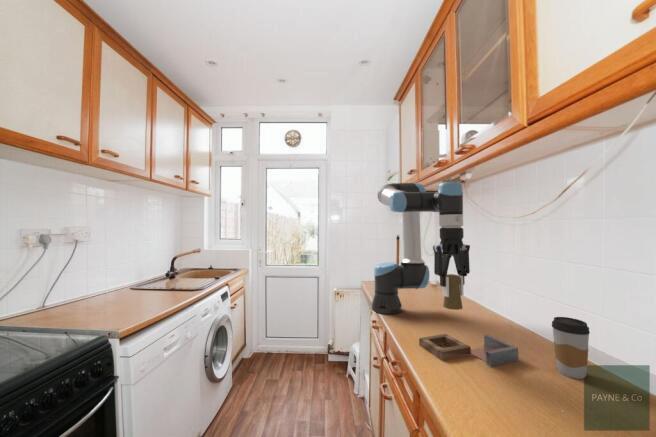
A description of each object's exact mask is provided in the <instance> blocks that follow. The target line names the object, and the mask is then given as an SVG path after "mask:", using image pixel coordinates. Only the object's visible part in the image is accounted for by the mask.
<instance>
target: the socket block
mask: <svg viewBox="0 0 656 437" xmlns="http://www.w3.org/2000/svg"><path fill="white" fill-rule="evenodd" d="M418 342H419V347H422V349H424V350H426V352H429V353H430V354H431V355H433V356H435V357H436V358H437V359H439V360H441V361H446V360H452V359H456V358H457V359H458V358H461V357H466V356H472V354H471V348H472V347H471V346H470V345H468V344H466V343H464V342H462V341H460V340H458V339H457V338H454V337H453V336H451V335H449V334H447V333H442V334H436V335H430V336H423V337H419V339H418ZM441 345H447V346H448V347H444V348H442V347H440V346H441Z"/></svg>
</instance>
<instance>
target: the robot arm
mask: <svg viewBox="0 0 656 437" xmlns="http://www.w3.org/2000/svg"><path fill="white" fill-rule="evenodd" d="M463 194H464V192H463V185H462V183H461V182H459V181H446V182H441V183H439V185H438V190H437V191H426V188H425V186H424V185H423V184H422V183H419V182H418V183H417V182H398V183H396V182H395V183H394V182H393V183H388V184H385V185H383V186H382V187H380V188H379V190H378V192H377V199H378V201H379V202H380V203H381V204H383V205H385V206H389V208H390V211H391V212H393V213H402V235H403V236H402V241H403V242H402V244H403V259H402V260H400V265H399V264H398V263H397V262H390V261H388V262H384V263H378V264H376V265H375V266H374V273H373V277H374V295H373V298H372V302H371V308H370V309H371V311H373V312H374V313H378V314H383V315H394V314H400V313H402V311H403V306H402V302H401V300H400V297H399V290H401V289H402V290H405V289H406V290H407V289H409V290H412V289H415V290H418V289H419V290H420V289H425V288H426V287H427V286H428V284H429V280H430V269H429V266H428V265H426V264H425V263H426V262H425V261H424V260H423V259H422V242H421V241H422V240H421V237H422V236H421V216H420V214H421V212H422V213H423V212H426V213H427V212H429V213H430V212H431V213H432V212H433V213H438V215H439V217H438V219H439V220H438V222H439V223H438V224H439V225H438V226H439V227H440V228H439V239H440V242H439V244H437V245H433V246H432V250H433V252H434V253H433V254H434V255H433V256H434V258H433V259H434V266H433V267H434V271H433V272H434V275H436V276H438V277H439V286H440V287H441V296H443V297H444V296H446V297H449V277H446V276H447V275H448V270H449V265H450V261H451V258H452V257H453V260H454V264H455V269H456V273H457V275H458V276H459V277H460V279H461V282H460V284H459V289H460V295H461V296H464V293H465V292H464V285H465V281H466V280H465V277H467V276H468V274H470V272H471V269H470V249H471V248H470V247H471V245H469V244H465V243H464V241H463V239H464V234H465V233H464V228H463V226H464V202H463V200H464V199H463V198H464V195H463Z"/></svg>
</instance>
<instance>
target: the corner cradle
mask: <svg viewBox="0 0 656 437" xmlns="http://www.w3.org/2000/svg"><path fill="white" fill-rule="evenodd" d="M483 345H484V346H482V347H477V348H473V349H471V356H474V357H476V358H477V359H479V360H481V361H482V362H485V364H486V365H487V366H488V367H490V368H492V367H496V366H501V365H505V364H510V363H514V362H515V363H516V362H519V361H520V358H519V347H516V346H515V345H512V344H510V343H508V342H506V341H503V340H501V339H499V338H497V337H494V336H492V335H489V334H484V335H483Z"/></svg>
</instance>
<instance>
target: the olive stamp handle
mask: <svg viewBox="0 0 656 437" xmlns="http://www.w3.org/2000/svg"><path fill="white" fill-rule="evenodd" d="M446 277H449V297H446V296H443V298H444V299H443V306H442V307H443V308H445V309H448V310H453V311H455V310H456V311H457V310H462V309H463V302H462V297H461V295H460V289H459V284H460V282H461V279H460V277H459V276H458V274H453V273H449V274H448V273H447V276H446Z"/></svg>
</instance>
